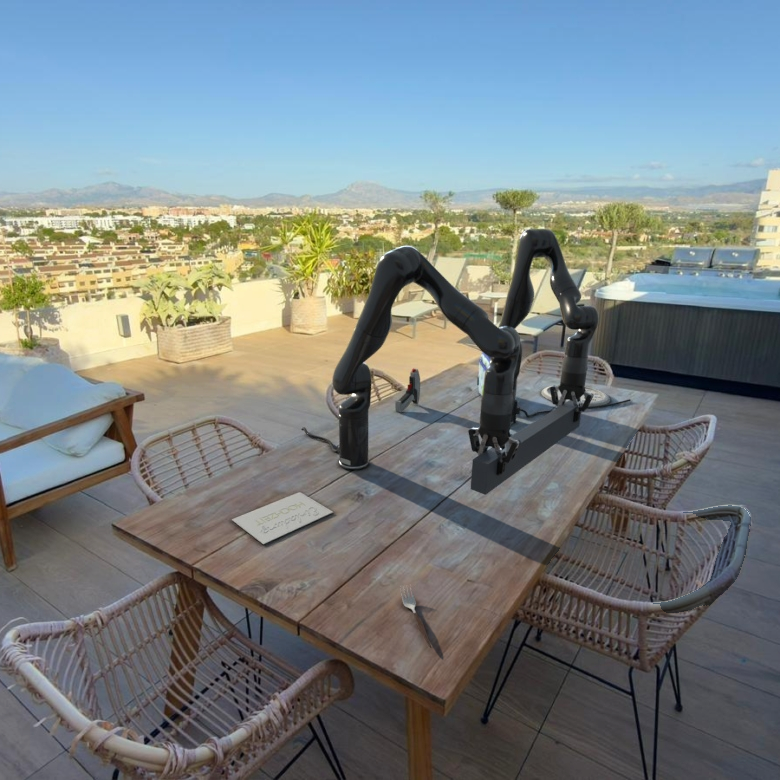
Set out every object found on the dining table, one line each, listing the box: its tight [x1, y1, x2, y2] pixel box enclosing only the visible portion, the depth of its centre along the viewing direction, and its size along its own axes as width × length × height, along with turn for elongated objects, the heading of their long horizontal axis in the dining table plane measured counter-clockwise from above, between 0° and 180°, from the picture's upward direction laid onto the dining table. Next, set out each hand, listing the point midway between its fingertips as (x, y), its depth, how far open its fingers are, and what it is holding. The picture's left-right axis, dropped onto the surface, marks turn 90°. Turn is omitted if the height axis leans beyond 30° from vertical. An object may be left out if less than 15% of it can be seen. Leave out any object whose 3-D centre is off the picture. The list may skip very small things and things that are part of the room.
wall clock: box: [541, 384, 611, 407], centre depth 239 cm, size 30×2×30 cm
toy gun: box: [394, 367, 421, 413], centre depth 218 cm, size 2×16×15 cm
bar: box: [470, 400, 582, 496], centre depth 152 cm, size 62×4×8 cm, turn 140°
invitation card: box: [231, 491, 334, 545], centre depth 137 cm, size 21×1×15 cm
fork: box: [399, 584, 432, 649], centre depth 101 cm, size 3×16×2 cm, turn 16°
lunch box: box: [476, 351, 491, 397], centre depth 230 cm, size 26×11×21 cm, turn 179°
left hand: (490, 471), depth 133 cm, fingers closed on bar, 4 cm apart
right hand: (567, 419), depth 171 cm, fingers closed on bar, 4 cm apart
